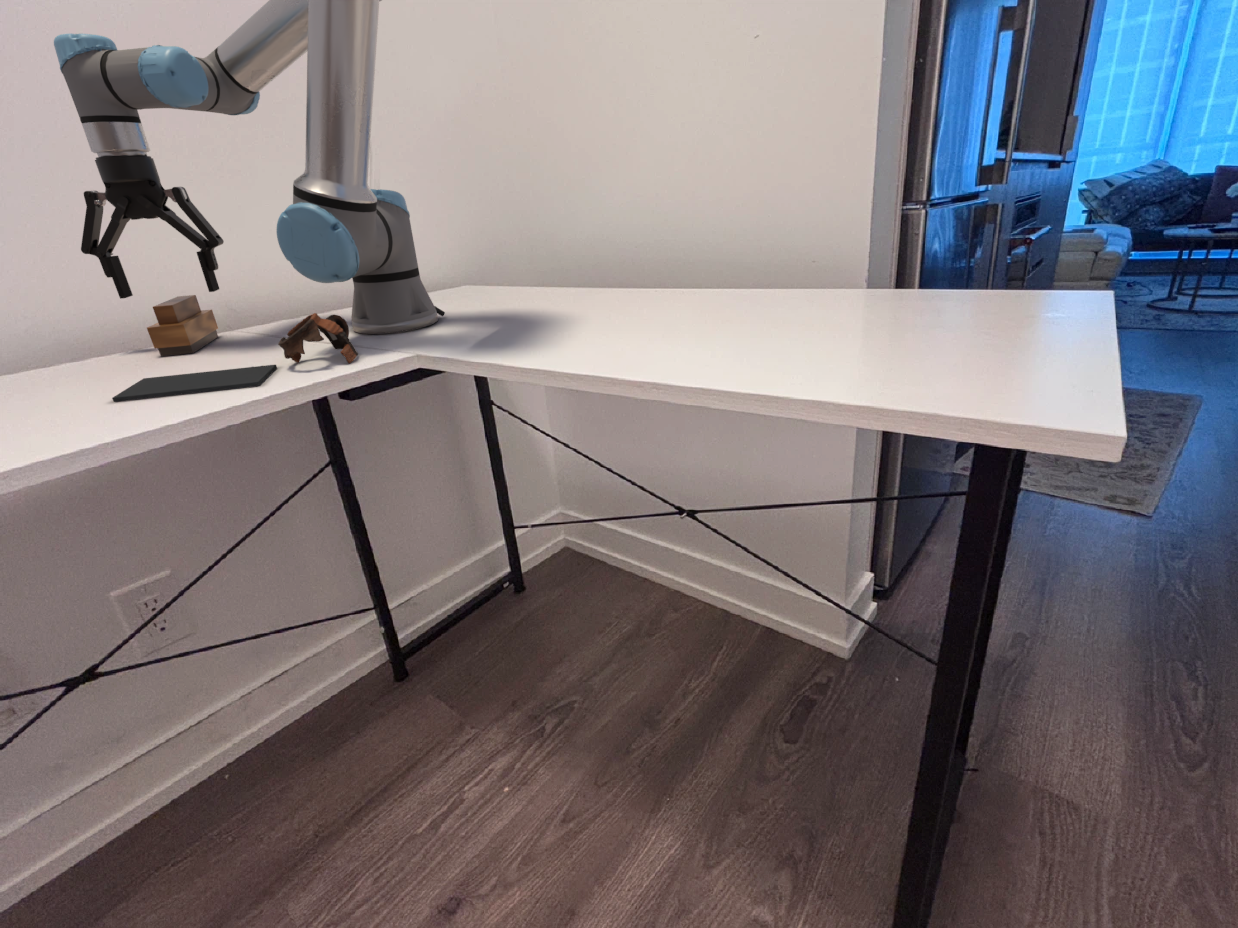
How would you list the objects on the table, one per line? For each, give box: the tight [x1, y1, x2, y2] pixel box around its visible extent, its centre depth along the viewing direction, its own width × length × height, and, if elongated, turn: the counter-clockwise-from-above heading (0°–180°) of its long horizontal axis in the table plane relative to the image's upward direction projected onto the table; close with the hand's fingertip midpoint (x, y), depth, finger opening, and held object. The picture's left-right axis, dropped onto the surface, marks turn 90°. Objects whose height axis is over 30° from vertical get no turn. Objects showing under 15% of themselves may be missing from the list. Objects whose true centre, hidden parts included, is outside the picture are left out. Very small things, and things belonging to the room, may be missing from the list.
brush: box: [146, 294, 219, 357], centre depth 108 cm, size 13×6×8 cm, turn 12°
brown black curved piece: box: [277, 312, 359, 364], centre depth 95 cm, size 12×10×8 cm
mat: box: [111, 364, 278, 403], centre depth 88 cm, size 18×9×1 cm, turn 102°
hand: (171, 293), depth 106 cm, fingers open, 13 cm apart
